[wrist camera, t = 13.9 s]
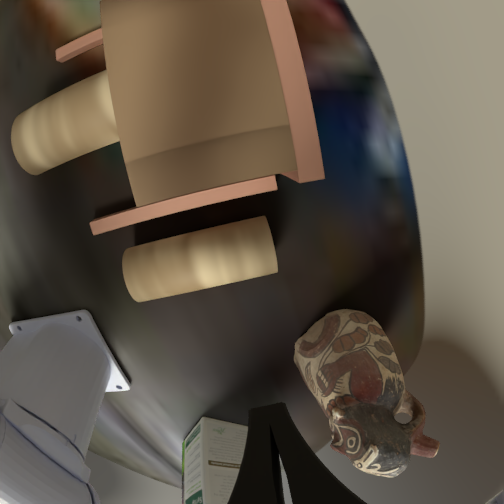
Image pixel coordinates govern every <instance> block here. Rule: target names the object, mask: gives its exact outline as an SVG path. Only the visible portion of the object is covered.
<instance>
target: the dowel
mask: <svg viewBox="0 0 504 504" xmlns="http://www.w3.org/2000/svg"><path fill="white" fill-rule="evenodd" d="M118 141H120V140H119V135H118V130H117V126H116V121H115V116H114V110H113V105H112V100H111V94H110V88H109V82H108V75H107V70H105V71H102V72H100V73H97V74H95V75H93V76H90V77H88V78H86V79H84V80H82V81H79V82H77V83H75V84H73V85H71V86H69V87H67V88H65V89H63V90H61V91H59V92H57V93H55V94H53V95H51V96H50V97H48V98H46V99H44V100H42V101H41V102H39V103H37V104H35V105H34V106H32V107H30V108H29V109H27V110H26V111H24V112H22V113H21V114H19V115H18V116H17V117H16V119H15V121H14V123H13V126H12V131H11V143H12V148H13V152H14V155H15V157H16V159H17V161H18V163H19V164H20V166H21V167H22V168H23V169H24V170H25V171H26V172H28V173H30V174H32V175H39V174H41V173H43V172H45V171H47V170H50V169H52V168H54V167H56V166H58V165H60V164H63V163H65V162H67V161H70V160H72V159H74V158H77V157H79V156H81V155H84V154H86V153H89V152H91V151H94V150H96V149H99V148H102V147H104V146H107V145H110V144H113V143H115V142H118Z"/></svg>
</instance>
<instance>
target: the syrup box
mask: <svg viewBox="0 0 504 504" xmlns="http://www.w3.org/2000/svg"><path fill="white" fill-rule="evenodd" d="M247 432H248V426H244V425H239V424H234V423H230V422H225V421H221V420H216V419H212V418H207V417H202V418H201V419H200V421H199V422H198V423H197V425H196V426H195V427H194V428H193V430H192V431H191V432H190V434H189V435H188V436H187V438H186V439H185V440H184V442H183V443H182V504H227V503H228V501H229V498H230V496H231V493H232V491H233V488H234V485H235V482H236V479H237V476H238V473H239V469H240V466H241V462H242V459H243V454H244V449H245V444H246V439H247Z"/></svg>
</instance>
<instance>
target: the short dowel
mask: <svg viewBox="0 0 504 504" xmlns="http://www.w3.org/2000/svg"><path fill="white" fill-rule="evenodd" d="M122 268H123V275H124V280H125V283H126V286H127V289H128V291H129V293H130V295H131V296H132V297H133V299H134V300H135V301H137V302H143V301H148V300H153V299H158V298H163V297H168V296H173V295H177V294H182V293H187V292H192V291H196V290H201V289H206V288H210V287H215V286H219V285H224V284H229V283H233V282H238V281H242V280H246V279H251V278H255V277H260V276H264V275H268V274H273V273H277V272H278V267H277V259H276V253H275V248H274V243H273V239H272V235H271V231H270V228H269V225H268V222H267V219H266V217H265V216H260V217H256V218H251V219H247V220H242V221H238V222H233V223H229V224H224V225H220V226H216V227H211V228H207V229H203V230H199V231H194V232H190V233H186V234H182V235H178V236H174V237H170V238H166V239H162V240H158V241H154V242H150V243H146V244H142V245H138V246H134V247H130V248H127V249H126V250H125V251H124V254H123V259H122Z"/></svg>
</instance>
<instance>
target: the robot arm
mask: <svg viewBox="0 0 504 504" xmlns="http://www.w3.org/2000/svg"><path fill="white" fill-rule="evenodd" d="M78 316H79V317H81V319H80V318H79V317H78ZM9 329H10V331H11V332H12V334H13V337H12V338H11V339H10V340H9V342H8V343H7V344H6V346H5V347H4V348H3V349H2V351H1V352H0V504H101V502H100V499H99V496H98V494H97V492H96V490H95V489H94V487H93V486H92V485H91V484H90V483H89V477H90V473H91V470H90V469H89V468H88V467H87V466H86V465H85V464H84V461H85V457H86V453H87V450H88V446H89V442H90V439H91V435H92V432H93V429H94V425H95V422H96V419H97V416H98V412H99V409H100V406H101V403H102V400H103V397H104V394H105V392H112V391H127V390H129V389H130V386H131V385H130V383H129V381H128V380H127V378H126V376H125V375H124V373H123V372H122V370H121V368H120V367H119V365H118V363H117V362H116V360H115V358H114V357H113V355H112V353H111V351H110V350H109V348H108V346H107V344H106V342H105V341H104V339H103V337H102V335H101V333H100V331H99V329H98V328H97V326H96V324H95V322H94V320H93V318H92V316H91V314H90V313H89V312H88V311H87V310H78V311H73V312H67V313H62V314H57V315H51V316H46V317H40V318H34V319H29V320H23V321H17V322H12V323H11V324H10V325H9ZM279 455H280V458H281V461H282V464H283V466H284V469H285V472H286V475H287V479H288V484H289V488H290V493H291V498H292V502H293V504H367V503H366V502H364V501H363V500H361V499H360V498H359V497H358V496H357V495H355V494H354V493H353V492H352V491H350V490H349V489H348V488H347V487H346V486H345V485H344V484H342V483H341V482H340V481H339V480H338V479H337V478H336V477H335V476H334V475H333V474H332V473H331V472H330V471H329V470H328V469H327V468H326V467H325V465H324V464H323V463H322V462H321V461H320V459H319V458H318V457H317V456H316V455H315V453H314V452H313V451H312V450H311V448H310V447H309V446H308V444H307V443H306V441H305V440H304V438H303V437H302V436H301V434H300V432H299V431H298V429H297V428H296V426H295V424H294V422H293V420H292V419H291V417H290V414H289V412H288V410H287V407H286V404H285V403H283V402H281V403H276V404H272V405H267V406H263V407H258V408H253V409H250V410H249V423H248V432H247V439H246V444H245V449H244V454H243V459H242V462H241V466H240V469H239V473H238V476H237V479H236V482H235V485H234V488H233V491H232V493H231V496H230V498H229V501H228V503H227V504H285V502H284V495H283V487H282V477H281V468H280V459H279ZM485 504H504V489H503V490H502V491H500V492H499V493H498V494H497V495H496V496H494V497H493V498H492V499H490V500H489V501H488V502H487V503H485Z"/></svg>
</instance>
